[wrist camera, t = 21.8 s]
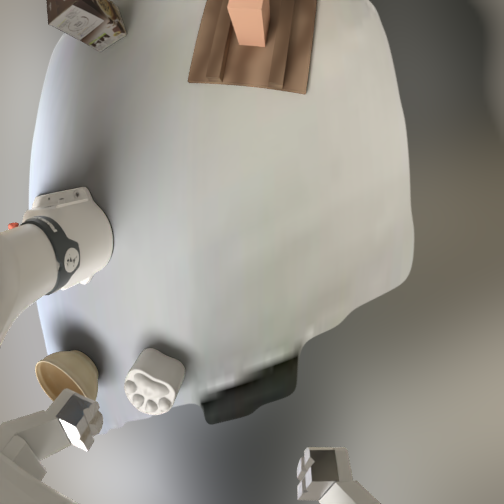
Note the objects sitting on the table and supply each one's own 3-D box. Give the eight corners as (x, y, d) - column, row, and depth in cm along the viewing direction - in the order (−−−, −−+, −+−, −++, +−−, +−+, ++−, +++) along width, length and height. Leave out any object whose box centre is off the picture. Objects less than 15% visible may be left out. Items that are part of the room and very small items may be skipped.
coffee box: (128, 34, 36) (80, -1, 20) (100, 53, 37) (46, 26, 21) (119, 6, 34) (75, -30, 18) (92, 23, 35) (44, -5, 19)
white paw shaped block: (190, 365, 53) (178, 394, 45) (173, 401, 57) (162, 428, 48) (143, 342, 52) (125, 368, 44) (132, 381, 56) (117, 405, 48)
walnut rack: (189, 82, 38) (182, 76, 35) (212, -11, 33) (207, -21, 29) (305, 94, 38) (307, 88, 34) (316, -2, 32) (319, -13, 29)
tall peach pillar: (239, 44, 35) (227, 7, 24) (245, 16, 33) (235, -25, 22) (265, 47, 35) (261, 9, 24) (270, 18, 33) (267, -23, 22)
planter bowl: (109, 353, 54) (85, 382, 44) (111, 398, 59) (93, 426, 49) (55, 327, 54) (28, 350, 44) (63, 373, 59) (42, 397, 49)
